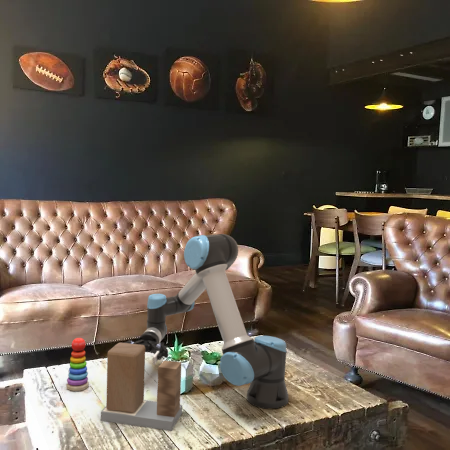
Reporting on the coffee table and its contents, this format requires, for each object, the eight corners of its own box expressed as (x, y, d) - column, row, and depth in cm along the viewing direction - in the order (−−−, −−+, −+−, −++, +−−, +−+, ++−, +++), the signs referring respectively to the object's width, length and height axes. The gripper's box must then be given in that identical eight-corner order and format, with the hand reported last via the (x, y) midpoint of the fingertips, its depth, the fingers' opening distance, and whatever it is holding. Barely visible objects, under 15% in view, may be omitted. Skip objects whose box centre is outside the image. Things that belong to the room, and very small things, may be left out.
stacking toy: (91, 389, 186) (92, 340, 184) (70, 393, 181) (70, 343, 180) (84, 381, 192) (85, 334, 191) (63, 385, 188) (64, 337, 186)
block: (134, 414, 161) (135, 354, 160) (105, 410, 163) (106, 351, 161) (144, 401, 171) (146, 344, 169) (117, 397, 173) (118, 341, 171)
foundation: (181, 413, 170) (182, 404, 170) (171, 430, 158) (171, 421, 158) (115, 404, 175) (115, 395, 174) (100, 420, 163) (100, 411, 163)
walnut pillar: (179, 408, 167) (181, 362, 165) (174, 417, 161) (176, 369, 159) (162, 406, 168) (164, 360, 166) (156, 414, 162) (158, 367, 160)
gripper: (180, 351, 196) (169, 372, 174) (118, 346, 198) (99, 367, 177) (181, 333, 195) (170, 351, 174) (119, 328, 197) (100, 346, 176)
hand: (134, 359), depth 175 cm, fingers open, 13 cm apart
